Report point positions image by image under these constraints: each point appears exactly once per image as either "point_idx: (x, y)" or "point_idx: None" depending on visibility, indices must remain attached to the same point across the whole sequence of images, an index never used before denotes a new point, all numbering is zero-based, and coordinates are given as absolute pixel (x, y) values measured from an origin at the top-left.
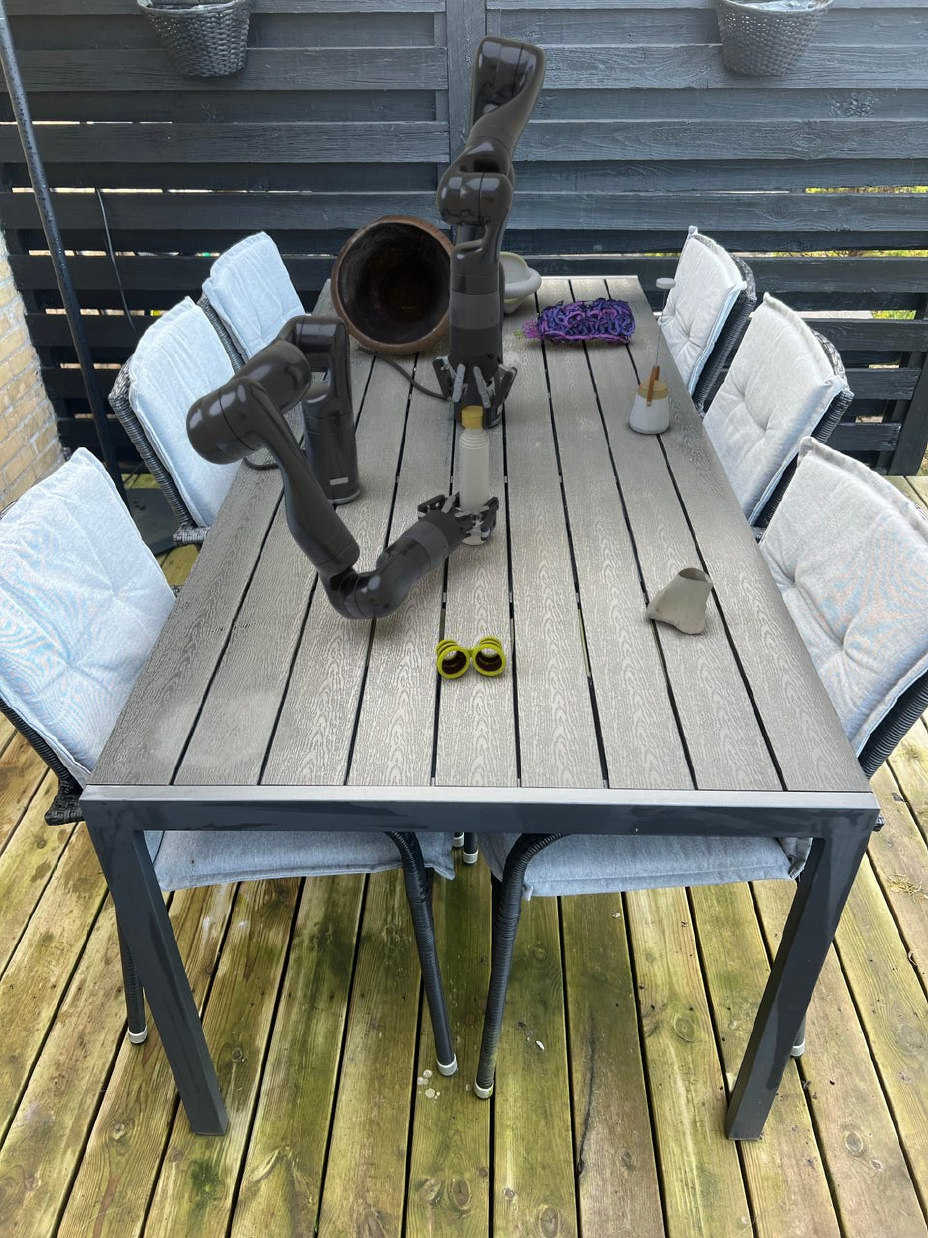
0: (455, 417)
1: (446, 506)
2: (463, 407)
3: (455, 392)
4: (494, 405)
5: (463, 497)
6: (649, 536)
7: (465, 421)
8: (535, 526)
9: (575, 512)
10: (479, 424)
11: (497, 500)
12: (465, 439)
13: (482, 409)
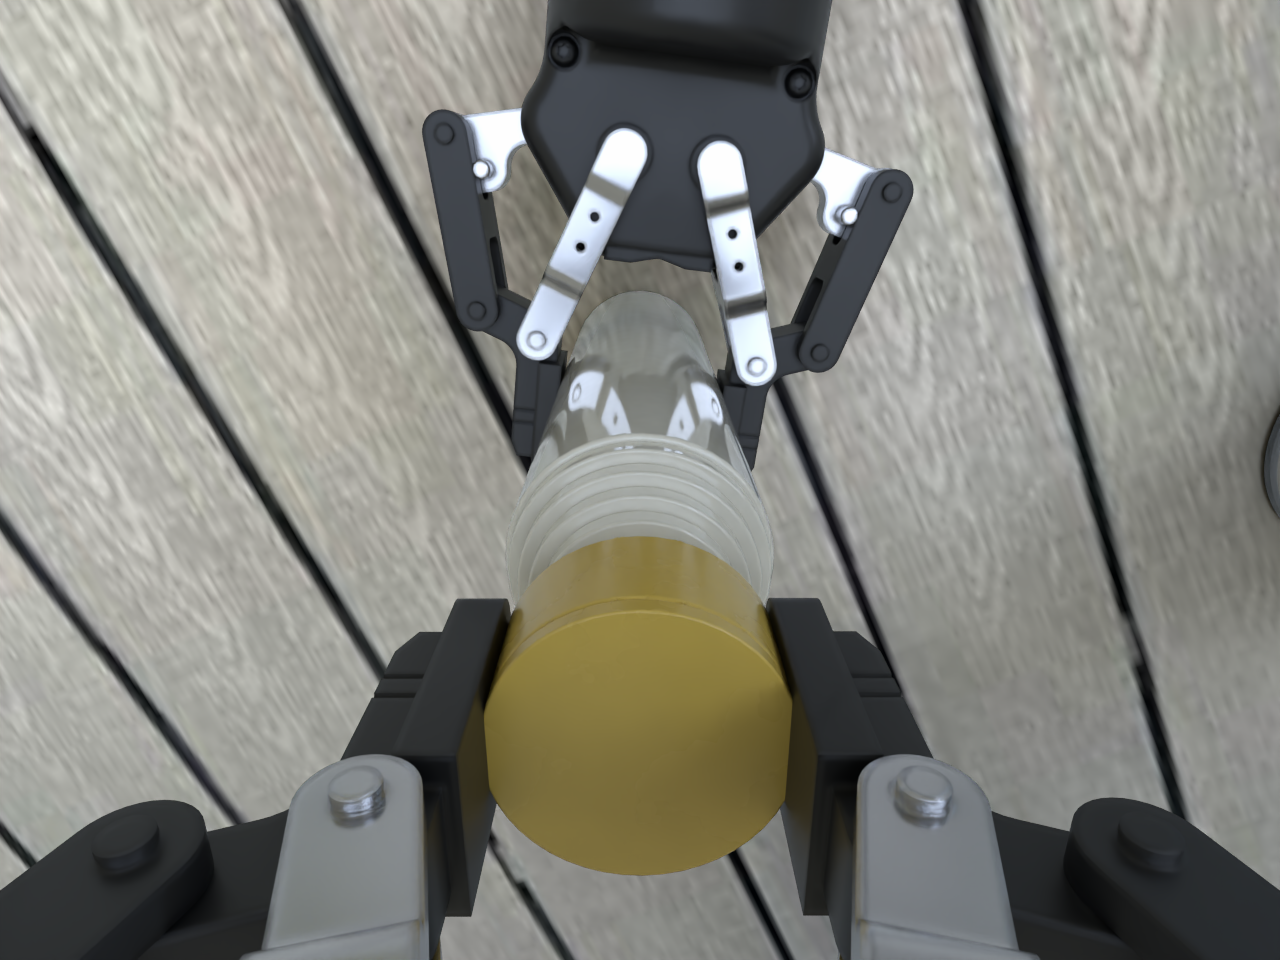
0: (857, 641)
1: (736, 227)
2: (793, 761)
3: (961, 876)
4: (262, 823)
5: (672, 339)
6: (15, 639)
7: (693, 576)
8: (441, 536)
9: (347, 684)
10: (526, 599)
11: (525, 454)
12: (686, 495)
13: (460, 733)
